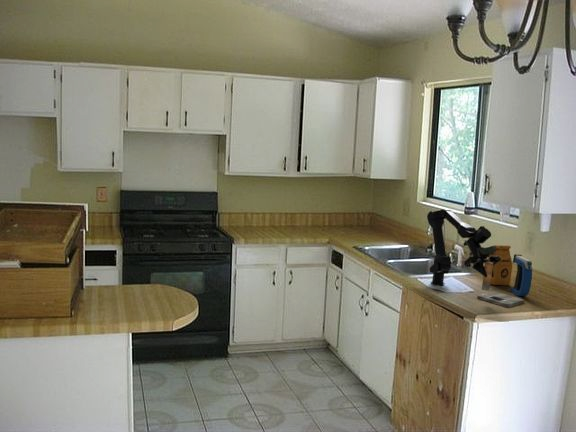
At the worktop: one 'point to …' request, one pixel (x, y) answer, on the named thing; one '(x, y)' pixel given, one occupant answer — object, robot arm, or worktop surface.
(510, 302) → the grey square tile
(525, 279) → the blue curved piece
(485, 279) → the wooden block
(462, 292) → the worktop surface
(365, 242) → the worktop surface
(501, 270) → the coffee package
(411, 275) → the worktop surface
